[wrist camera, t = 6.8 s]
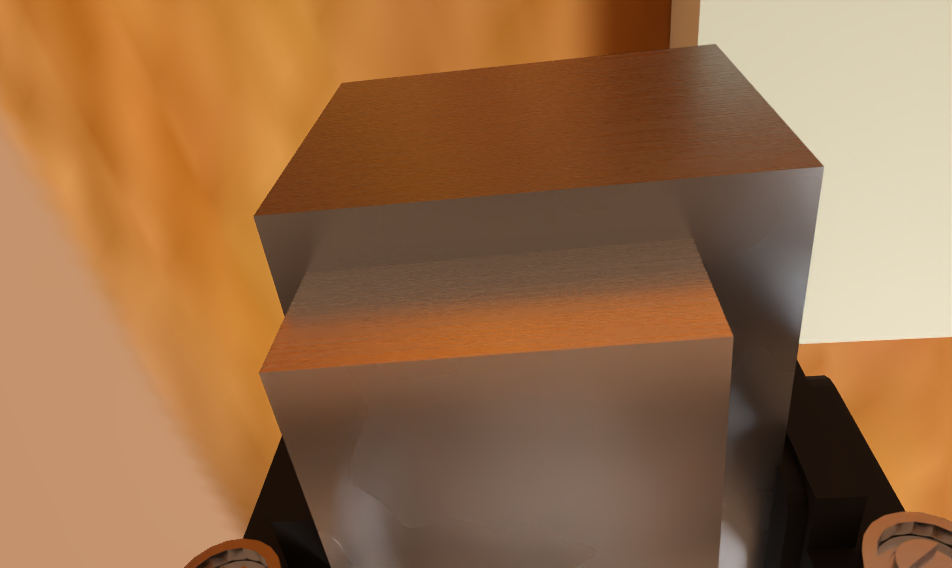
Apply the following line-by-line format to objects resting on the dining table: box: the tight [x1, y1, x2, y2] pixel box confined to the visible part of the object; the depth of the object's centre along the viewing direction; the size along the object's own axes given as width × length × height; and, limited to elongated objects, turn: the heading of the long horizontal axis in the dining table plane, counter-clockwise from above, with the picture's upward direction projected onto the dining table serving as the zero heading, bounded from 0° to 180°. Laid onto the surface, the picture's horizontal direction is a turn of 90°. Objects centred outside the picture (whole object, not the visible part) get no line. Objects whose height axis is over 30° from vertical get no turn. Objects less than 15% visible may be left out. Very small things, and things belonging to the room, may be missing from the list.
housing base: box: [254, 44, 824, 568], centre depth 11 cm, size 5×10×4 cm, turn 7°
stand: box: [670, 0, 952, 344], centre depth 22 cm, size 18×12×4 cm, turn 6°
